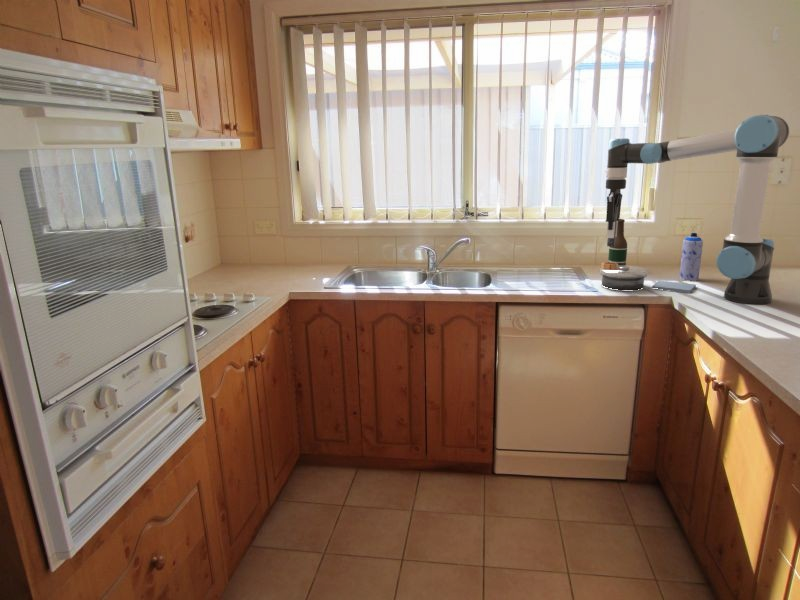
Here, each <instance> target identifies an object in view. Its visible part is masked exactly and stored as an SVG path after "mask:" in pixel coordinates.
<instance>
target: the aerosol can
mask: <svg viewBox="0 0 800 600" xmlns="http://www.w3.org/2000/svg"><path fill="white" fill-rule="evenodd" d="M703 241H704V240H703V239H702V237H700V236H699V235H698V233H697V232H691V233H690V235H689V236H687V237H685V239H683V241H682V242H683V243H682V251H681V257H680V258H681V261H680V268H679V269H680V270H679V276H678V278H679V277H680V278H681V279H684V280H698V281H700V278H699V277H700V271H701V270H700V268H701V262H702V261H701V260H702V253H703V247H704V246H703V245H704V242H703ZM684 280H683V281H684Z"/></svg>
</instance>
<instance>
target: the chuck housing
mask: <svg viewBox="0 0 800 600" xmlns="http://www.w3.org/2000/svg"><path fill="white" fill-rule="evenodd" d="M601 276H602V277H601V286H602V285H603V286H605V287H608V288H612V289H618V290H638V289H641V288H643V289H644V287H645V284H644V283H645V278H640V279H619V278H611V277H606V276H603V275H601Z"/></svg>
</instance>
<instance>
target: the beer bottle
mask: <svg viewBox="0 0 800 600" xmlns="http://www.w3.org/2000/svg"><path fill="white" fill-rule="evenodd" d="M619 219H620V221H618V225H617V237H615V246H614V247H610V246H608V257H607V258H608V259H607V260H608V261H607V262H614V263H618V265H625V266H627V255H628V242H627V239H626V238H625V234H624V233H625V221H626V220H625V219H624V218H619Z"/></svg>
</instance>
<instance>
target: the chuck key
mask: <svg viewBox="0 0 800 600" xmlns="http://www.w3.org/2000/svg"><path fill="white" fill-rule="evenodd" d="M617 212H618V207H616V212H615V221H614V222H615V231H614V238H607V241H606V246H607V247H609V246H610V247H614V246H615V236H616V224H617Z"/></svg>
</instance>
